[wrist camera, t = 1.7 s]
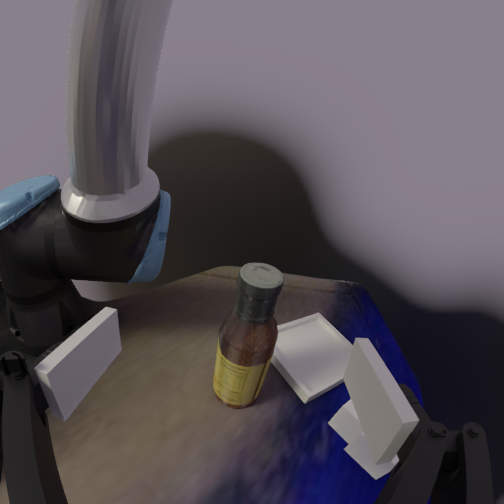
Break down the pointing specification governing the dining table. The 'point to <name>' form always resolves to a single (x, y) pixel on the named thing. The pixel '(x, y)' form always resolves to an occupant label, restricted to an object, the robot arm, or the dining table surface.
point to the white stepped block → (358, 441)
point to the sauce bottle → (247, 336)
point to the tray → (311, 356)
